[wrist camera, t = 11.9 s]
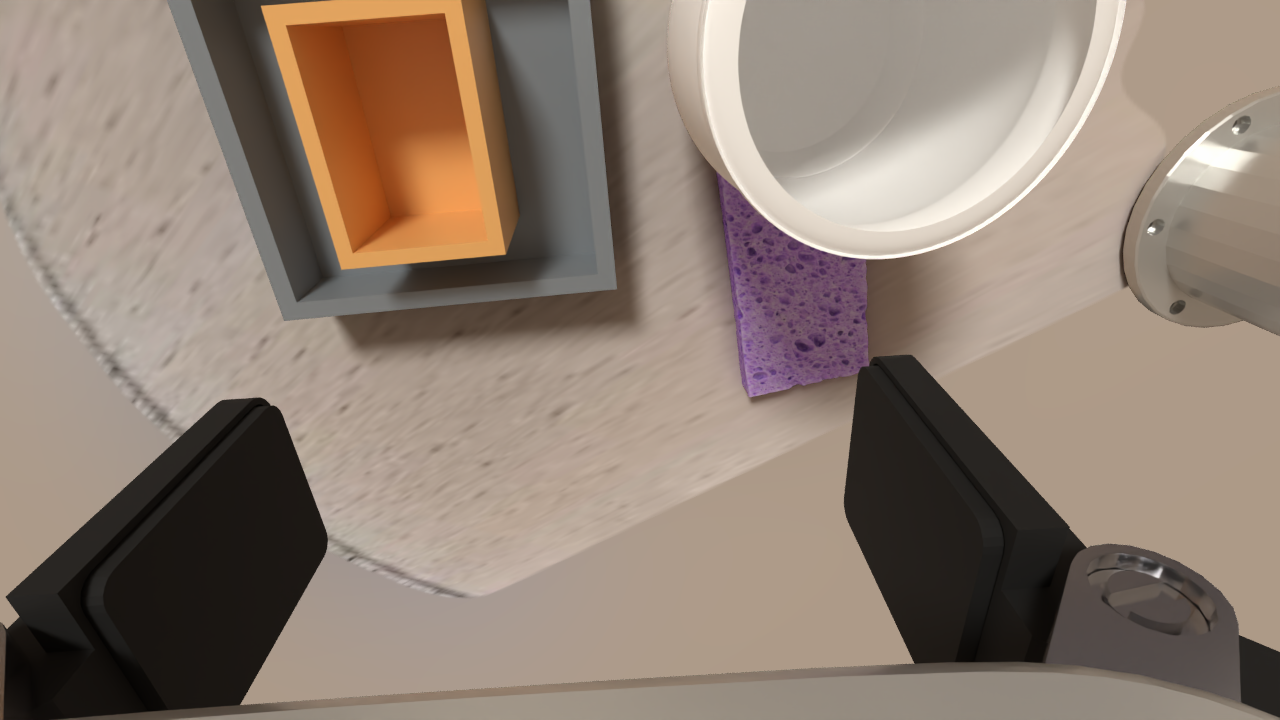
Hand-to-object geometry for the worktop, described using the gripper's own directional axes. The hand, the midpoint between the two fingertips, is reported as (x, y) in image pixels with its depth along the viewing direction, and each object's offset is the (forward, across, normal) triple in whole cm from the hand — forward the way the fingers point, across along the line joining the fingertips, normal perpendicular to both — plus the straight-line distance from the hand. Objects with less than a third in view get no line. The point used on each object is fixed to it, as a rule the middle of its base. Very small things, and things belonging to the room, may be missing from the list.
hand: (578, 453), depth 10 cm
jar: (+23, -7, -5) cm, 25 cm away
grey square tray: (+22, +8, -3) cm, 24 cm away
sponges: (+24, -10, +6) cm, 26 cm away
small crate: (+21, +7, -3) cm, 23 cm away
